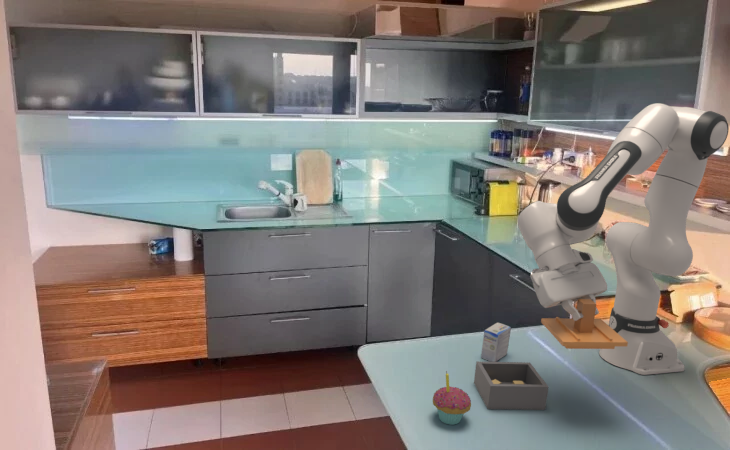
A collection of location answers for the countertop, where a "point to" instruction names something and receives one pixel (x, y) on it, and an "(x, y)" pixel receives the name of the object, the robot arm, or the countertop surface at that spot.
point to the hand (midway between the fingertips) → (587, 317)
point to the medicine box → (495, 342)
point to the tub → (510, 385)
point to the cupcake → (451, 403)
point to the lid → (584, 330)
